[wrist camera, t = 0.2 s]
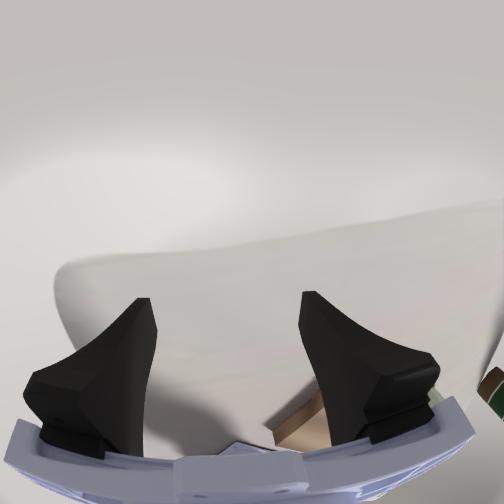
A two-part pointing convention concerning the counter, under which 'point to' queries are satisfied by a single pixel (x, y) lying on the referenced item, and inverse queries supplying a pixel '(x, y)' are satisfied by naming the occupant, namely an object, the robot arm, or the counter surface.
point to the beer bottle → (493, 391)
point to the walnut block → (305, 428)
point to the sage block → (434, 397)
